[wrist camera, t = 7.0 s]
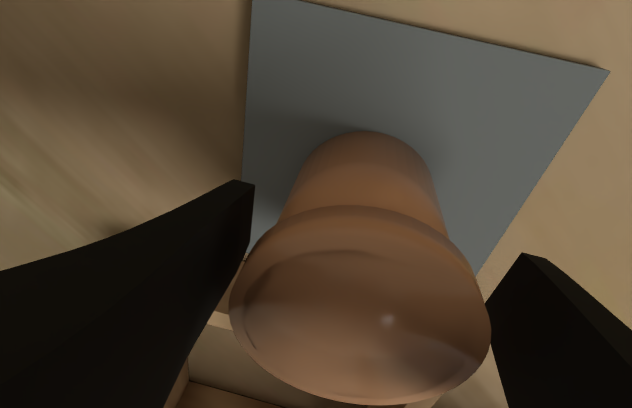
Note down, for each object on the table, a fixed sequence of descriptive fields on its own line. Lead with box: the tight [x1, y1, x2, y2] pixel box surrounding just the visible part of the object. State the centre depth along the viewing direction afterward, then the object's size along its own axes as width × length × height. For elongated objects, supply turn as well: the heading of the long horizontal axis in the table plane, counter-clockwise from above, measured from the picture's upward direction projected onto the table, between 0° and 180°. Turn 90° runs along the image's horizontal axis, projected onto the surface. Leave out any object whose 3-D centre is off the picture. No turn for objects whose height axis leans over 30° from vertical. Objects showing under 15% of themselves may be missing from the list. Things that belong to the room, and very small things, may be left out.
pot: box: [228, 131, 491, 405], centre depth 10 cm, size 6×6×6 cm
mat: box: [241, 0, 611, 277], centre depth 12 cm, size 10×10×1 cm
